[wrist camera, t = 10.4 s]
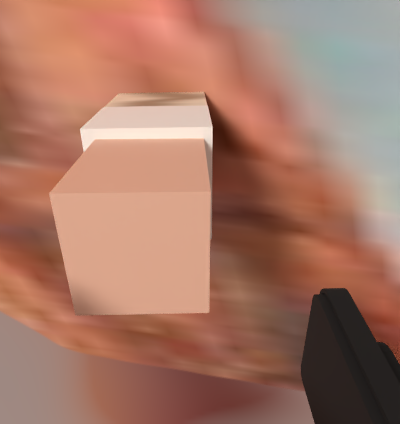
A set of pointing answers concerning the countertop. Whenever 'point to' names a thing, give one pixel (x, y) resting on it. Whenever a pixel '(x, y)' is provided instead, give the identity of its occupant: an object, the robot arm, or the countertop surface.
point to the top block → (136, 227)
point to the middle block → (153, 127)
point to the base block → (158, 99)
